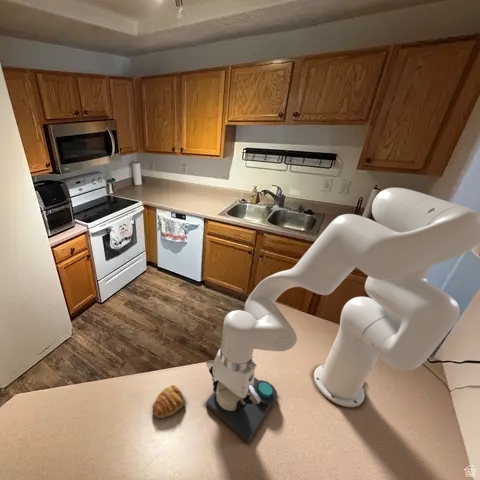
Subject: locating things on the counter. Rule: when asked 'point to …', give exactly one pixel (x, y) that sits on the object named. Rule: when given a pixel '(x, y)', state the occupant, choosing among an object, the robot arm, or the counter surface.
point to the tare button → (265, 390)
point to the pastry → (168, 402)
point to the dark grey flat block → (244, 412)
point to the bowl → (226, 397)
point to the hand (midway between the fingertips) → (228, 396)
